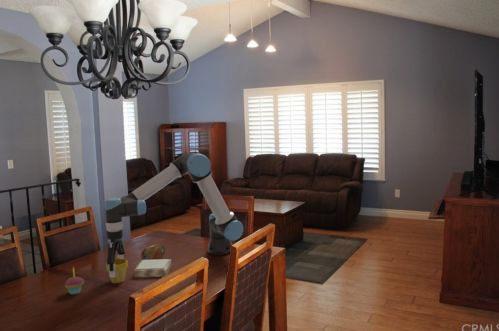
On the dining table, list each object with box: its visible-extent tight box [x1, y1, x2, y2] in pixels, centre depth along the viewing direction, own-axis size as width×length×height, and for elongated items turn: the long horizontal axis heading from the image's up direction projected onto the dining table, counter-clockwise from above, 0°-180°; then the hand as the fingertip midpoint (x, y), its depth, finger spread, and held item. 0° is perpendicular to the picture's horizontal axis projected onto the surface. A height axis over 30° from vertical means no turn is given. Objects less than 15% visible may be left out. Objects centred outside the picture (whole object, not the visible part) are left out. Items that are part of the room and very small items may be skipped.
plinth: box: [133, 258, 172, 278], centre depth 227 cm, size 16×16×4 cm
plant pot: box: [105, 258, 129, 284], centre depth 215 cm, size 10×10×10 cm
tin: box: [141, 243, 166, 260], centre depth 244 cm, size 15×3×8 cm, turn 143°
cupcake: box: [64, 265, 85, 295], centre depth 202 cm, size 9×8×12 cm
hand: (116, 272), depth 215 cm, fingers open, 13 cm apart
